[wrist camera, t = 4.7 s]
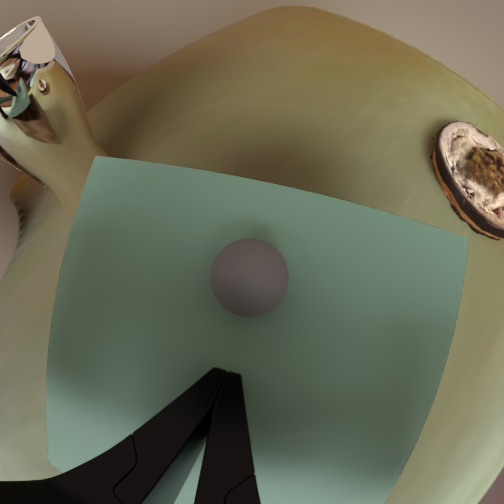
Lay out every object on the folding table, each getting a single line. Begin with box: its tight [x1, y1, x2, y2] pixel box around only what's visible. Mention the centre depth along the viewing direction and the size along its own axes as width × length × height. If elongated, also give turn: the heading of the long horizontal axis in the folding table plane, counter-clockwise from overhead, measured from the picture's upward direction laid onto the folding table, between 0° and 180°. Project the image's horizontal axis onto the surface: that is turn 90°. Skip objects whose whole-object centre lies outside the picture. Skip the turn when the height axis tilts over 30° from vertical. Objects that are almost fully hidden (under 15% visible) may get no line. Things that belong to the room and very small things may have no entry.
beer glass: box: [0, 16, 110, 218], centre depth 15 cm, size 7×7×15 cm
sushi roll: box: [430, 121, 504, 240], centre depth 20 cm, size 15×15×4 cm
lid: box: [46, 156, 468, 504], centre depth 8 cm, size 14×14×2 cm
